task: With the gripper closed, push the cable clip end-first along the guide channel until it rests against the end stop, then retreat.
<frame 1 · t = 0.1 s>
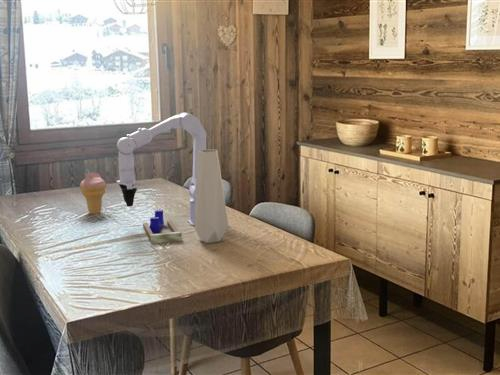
hand: (128, 203, 235), 10 cm above the table, fingers open, 7 cm apart
vase: (211, 240, 222), on the table
guide: (161, 233, 230), on the table
ice cream cone: (95, 213, 261), on the table
cable clip: (155, 229, 237), on the table
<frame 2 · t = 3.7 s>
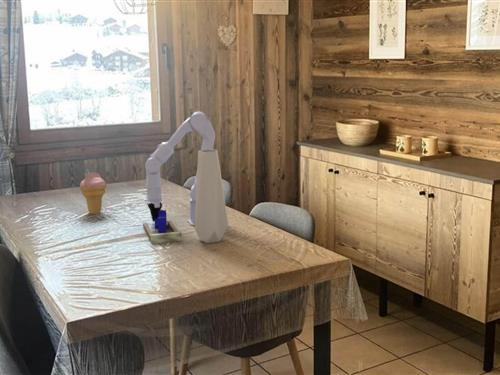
hand: (155, 221, 243), 1 cm above the table, fingers closed
cable clip: (160, 229, 236), on the table, touching gripper
everything else where it was.
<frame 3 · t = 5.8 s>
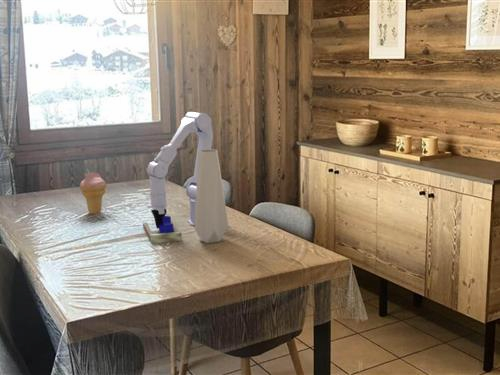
hand: (159, 227, 233), 1 cm above the table, fingers closed
cable clip: (166, 236, 227), on the table, touching gripper, guide
everything else where it was.
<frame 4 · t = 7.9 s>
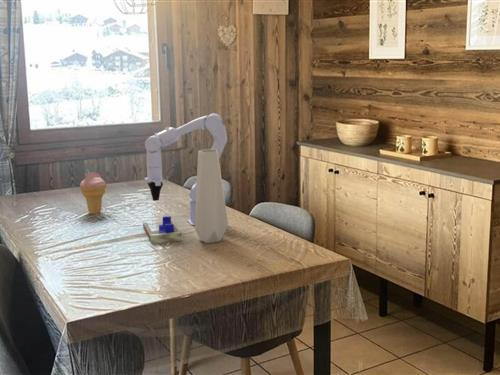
hand: (155, 200, 242), 9 cm above the table, fingers closed
cable clip: (166, 236, 227), on the table
everything else where it was.
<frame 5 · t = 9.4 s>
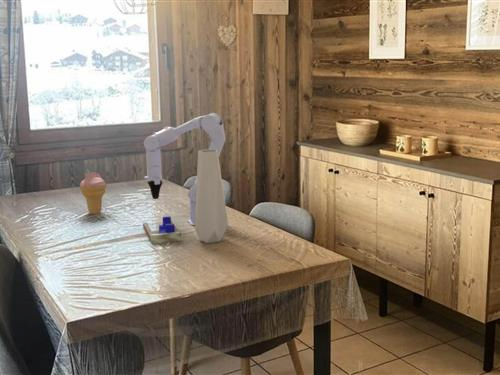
hand: (155, 198, 245), 9 cm above the table, fingers closed
nothing on the table moved.
at the end: cable clip 1.4 cm from the target spot, on the table; cable clip moved 11.0 cm from its start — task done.
